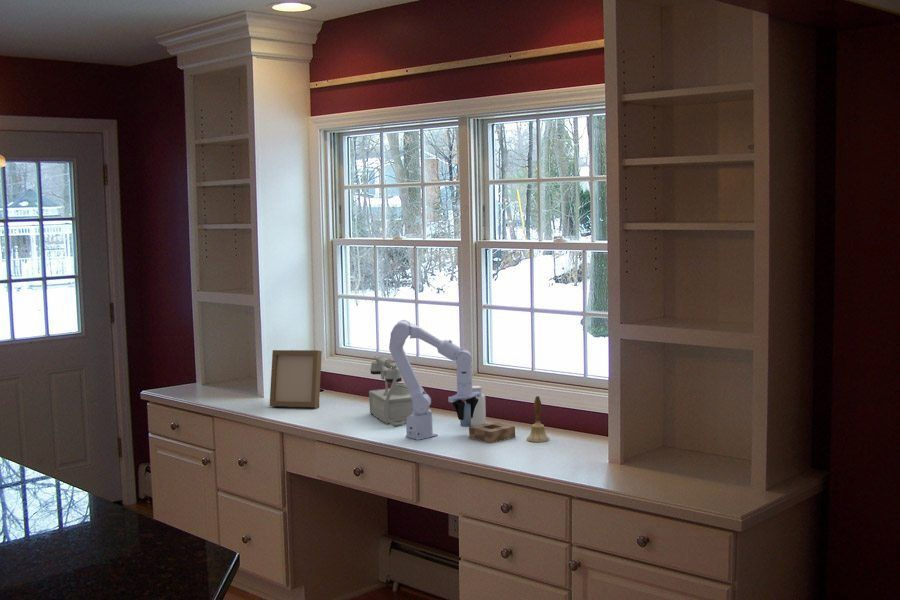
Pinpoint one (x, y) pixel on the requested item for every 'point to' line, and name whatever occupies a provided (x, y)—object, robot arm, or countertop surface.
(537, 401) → the hand bell
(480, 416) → the pill bottle
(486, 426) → the socket block
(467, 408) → the peg
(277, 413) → the countertop surface
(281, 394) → the photo frame
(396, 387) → the grey machine
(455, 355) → the robot arm
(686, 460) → the countertop surface
